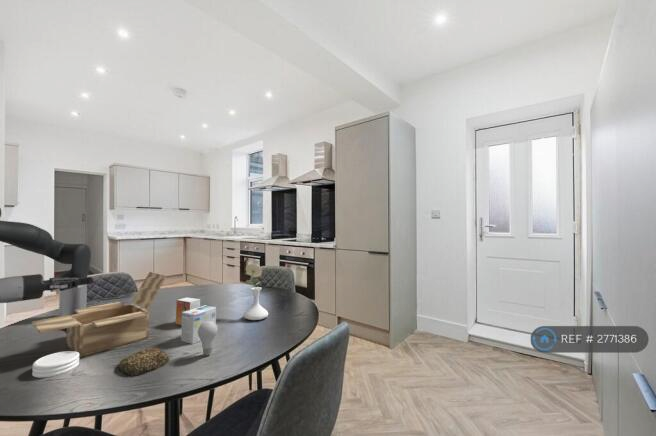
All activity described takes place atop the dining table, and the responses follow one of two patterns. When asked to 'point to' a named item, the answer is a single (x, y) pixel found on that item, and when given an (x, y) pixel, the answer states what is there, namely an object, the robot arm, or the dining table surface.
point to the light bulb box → (196, 322)
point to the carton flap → (149, 289)
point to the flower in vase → (255, 310)
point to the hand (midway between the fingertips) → (91, 280)
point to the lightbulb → (207, 335)
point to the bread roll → (143, 361)
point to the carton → (100, 327)
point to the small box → (185, 307)
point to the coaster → (55, 364)
